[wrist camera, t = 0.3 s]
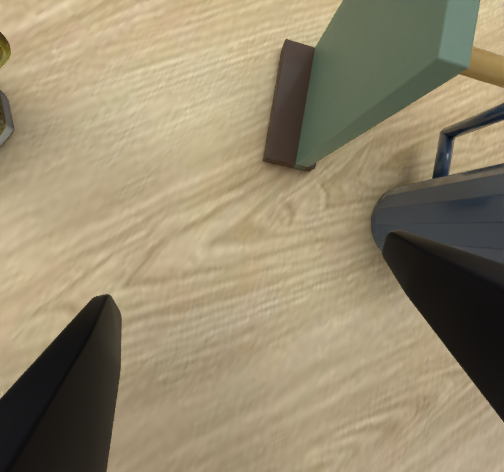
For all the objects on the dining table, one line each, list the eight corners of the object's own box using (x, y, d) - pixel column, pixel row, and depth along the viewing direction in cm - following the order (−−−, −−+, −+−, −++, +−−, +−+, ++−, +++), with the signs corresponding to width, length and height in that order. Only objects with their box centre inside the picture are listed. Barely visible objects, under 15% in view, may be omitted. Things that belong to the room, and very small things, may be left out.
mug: (432, 266, 26) (628, 300, 14) (365, 255, 25) (514, 281, 13) (452, 147, 26) (666, 76, 14) (386, 130, 25) (555, 37, 13)
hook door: (394, 189, 26) (671, 131, 10) (262, 161, 23) (364, 35, 8) (411, 85, 26) (715, -129, 10) (281, 48, 23) (418, -291, 8)
